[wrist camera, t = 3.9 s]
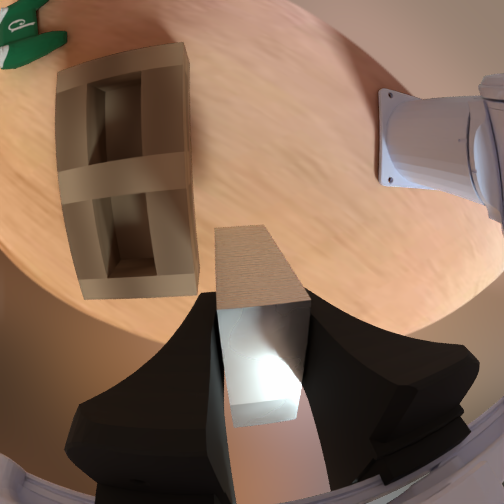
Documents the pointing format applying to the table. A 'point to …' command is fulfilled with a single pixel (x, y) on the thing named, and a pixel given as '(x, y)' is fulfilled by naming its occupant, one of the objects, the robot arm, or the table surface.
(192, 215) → the tan divided tray
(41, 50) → the green elongated piece
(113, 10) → the table surface
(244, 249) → the white rectangular pillar
